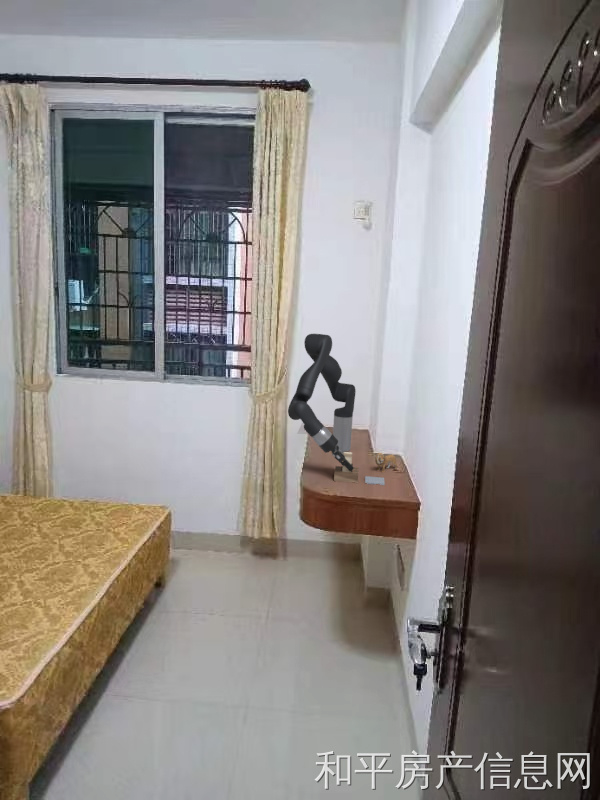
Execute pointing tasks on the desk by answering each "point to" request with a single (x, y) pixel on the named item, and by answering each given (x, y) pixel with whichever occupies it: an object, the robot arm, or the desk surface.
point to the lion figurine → (385, 461)
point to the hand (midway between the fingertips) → (351, 467)
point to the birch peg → (349, 457)
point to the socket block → (346, 475)
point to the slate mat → (374, 480)
